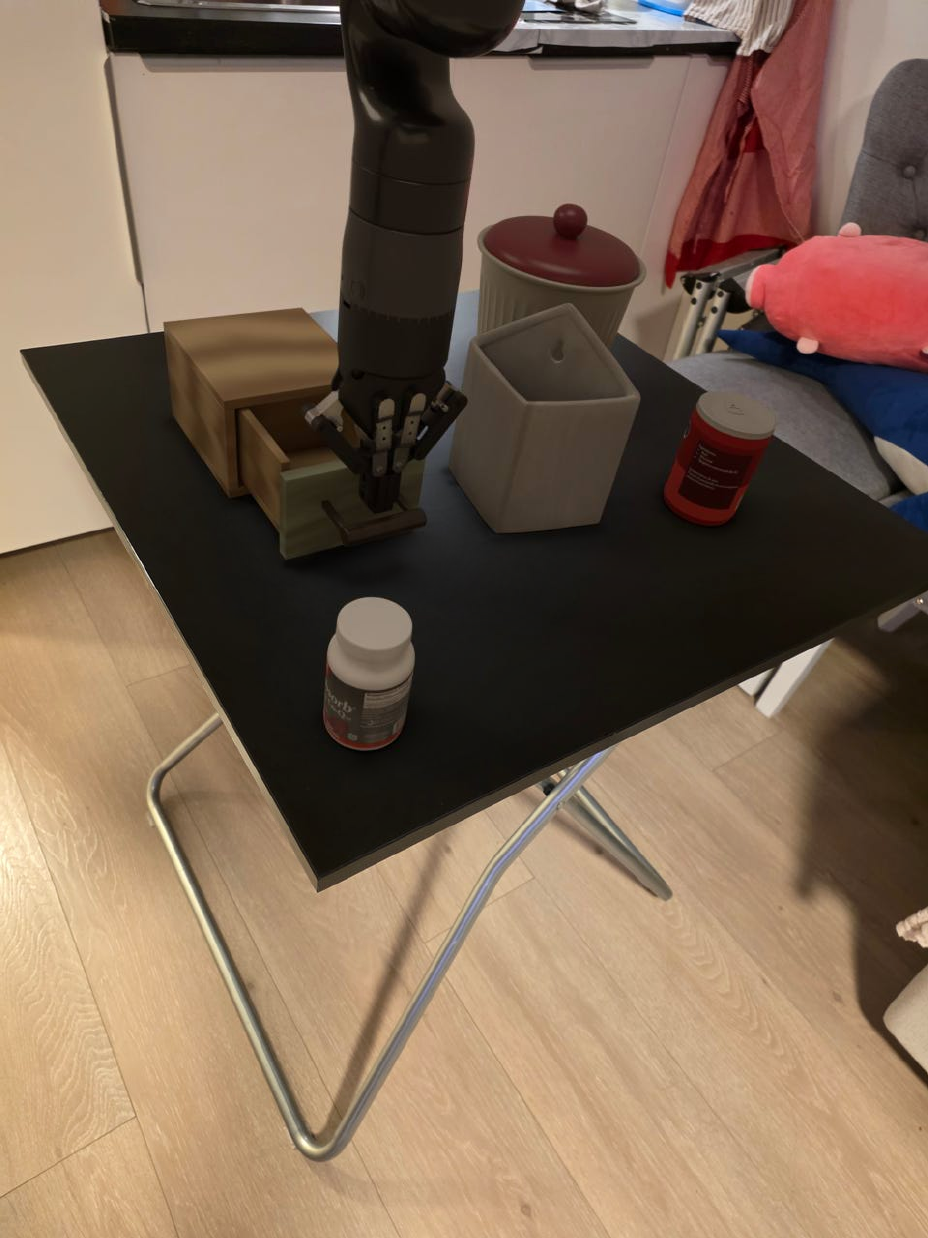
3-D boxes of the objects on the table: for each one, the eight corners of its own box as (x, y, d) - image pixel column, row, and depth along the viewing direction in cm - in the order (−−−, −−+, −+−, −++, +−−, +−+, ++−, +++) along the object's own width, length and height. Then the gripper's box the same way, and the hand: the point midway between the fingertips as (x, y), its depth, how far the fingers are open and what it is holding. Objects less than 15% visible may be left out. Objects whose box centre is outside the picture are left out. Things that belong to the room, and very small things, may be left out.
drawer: (447, 560, 69) (461, 484, 64) (313, 600, 63) (316, 520, 58) (346, 446, 79) (351, 372, 74) (223, 471, 73) (218, 393, 68)
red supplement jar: (708, 480, 87) (748, 388, 80) (747, 525, 82) (794, 431, 75) (647, 484, 85) (682, 390, 77) (684, 531, 80) (726, 435, 72)
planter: (416, 503, 76) (445, 302, 63) (450, 464, 82) (482, 273, 68) (577, 564, 73) (642, 368, 60) (600, 520, 79) (664, 331, 65)
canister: (493, 343, 104) (527, 164, 89) (623, 391, 99) (681, 211, 85) (427, 396, 91) (454, 197, 77) (572, 454, 87) (630, 255, 73)
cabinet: (365, 468, 79) (372, 377, 72) (229, 498, 72) (223, 400, 65) (300, 395, 87) (301, 306, 80) (172, 416, 80) (162, 321, 74)
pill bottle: (310, 703, 57) (314, 601, 50) (383, 681, 59) (395, 581, 53) (342, 765, 54) (351, 665, 47) (417, 739, 56) (436, 640, 49)
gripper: (454, 257, 57) (424, 465, 68) (278, 271, 50) (278, 497, 62) (515, 302, 53) (472, 515, 64) (332, 324, 46) (321, 555, 58)
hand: (377, 506), depth 63 cm, fingers closed
